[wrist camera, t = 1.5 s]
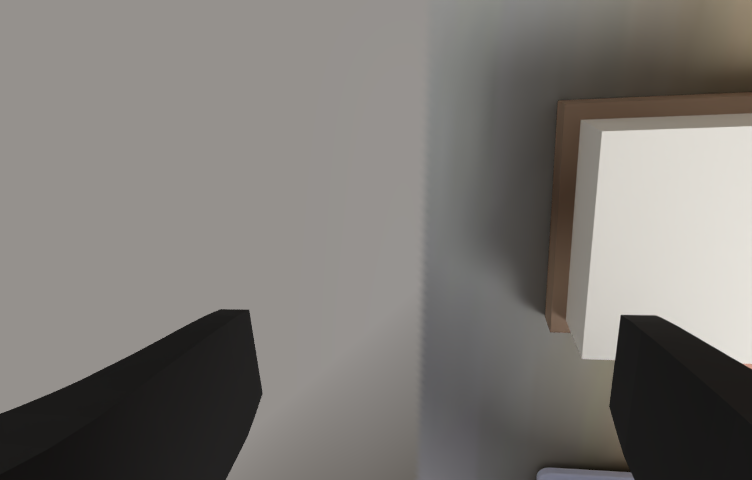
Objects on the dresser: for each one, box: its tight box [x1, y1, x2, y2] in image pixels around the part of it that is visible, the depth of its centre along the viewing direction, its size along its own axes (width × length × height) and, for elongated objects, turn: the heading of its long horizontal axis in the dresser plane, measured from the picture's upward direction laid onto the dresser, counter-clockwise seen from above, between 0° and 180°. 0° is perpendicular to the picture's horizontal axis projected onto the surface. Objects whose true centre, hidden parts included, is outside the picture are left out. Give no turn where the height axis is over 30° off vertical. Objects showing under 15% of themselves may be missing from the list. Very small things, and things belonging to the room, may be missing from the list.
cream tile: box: [566, 113, 752, 364], centre depth 16 cm, size 7×6×2 cm
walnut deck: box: [545, 92, 752, 333], centre depth 17 cm, size 8×7×1 cm
